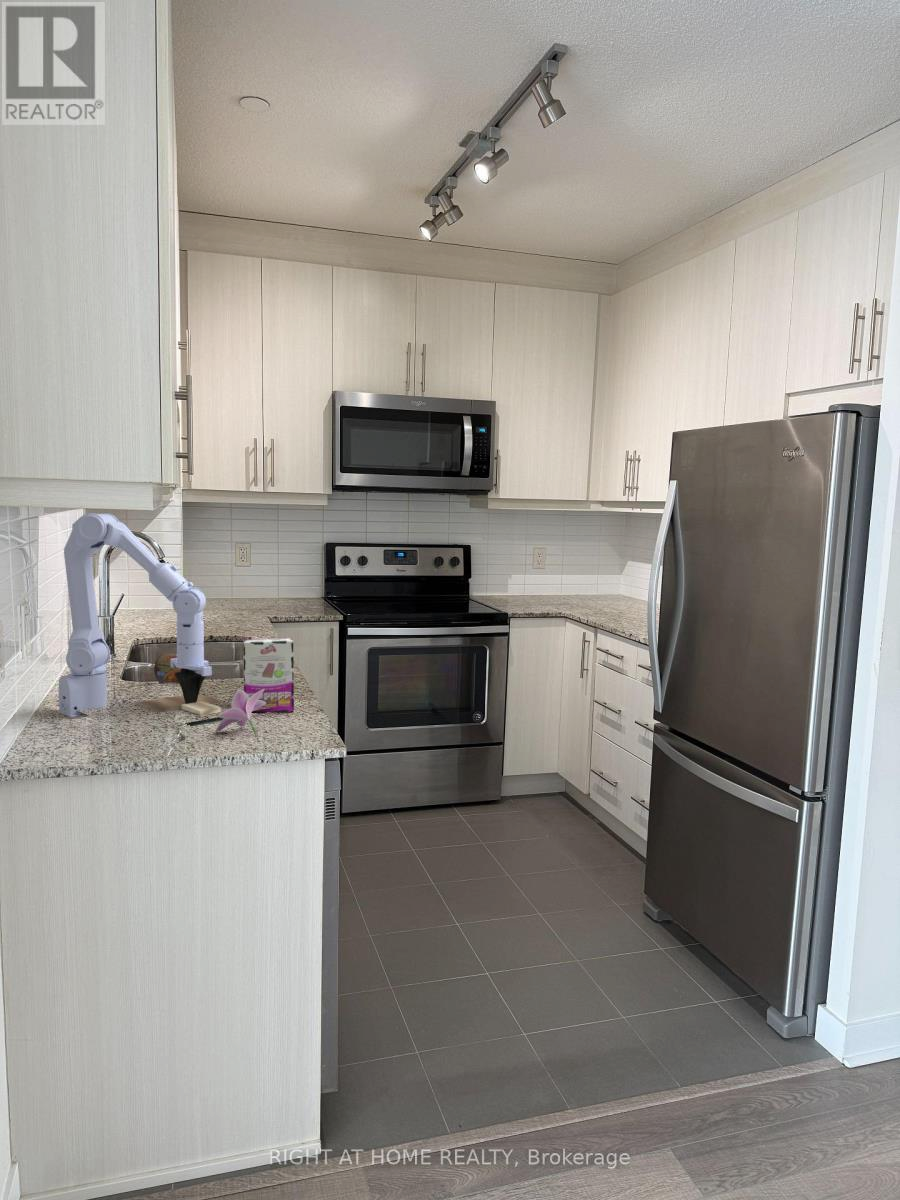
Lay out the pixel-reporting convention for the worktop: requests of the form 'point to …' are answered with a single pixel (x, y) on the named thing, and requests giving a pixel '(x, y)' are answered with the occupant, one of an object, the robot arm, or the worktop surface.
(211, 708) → the cream flat block
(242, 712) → the lily
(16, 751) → the worktop surface
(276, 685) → the candy bar box
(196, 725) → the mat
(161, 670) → the orange green food package
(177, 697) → the board
